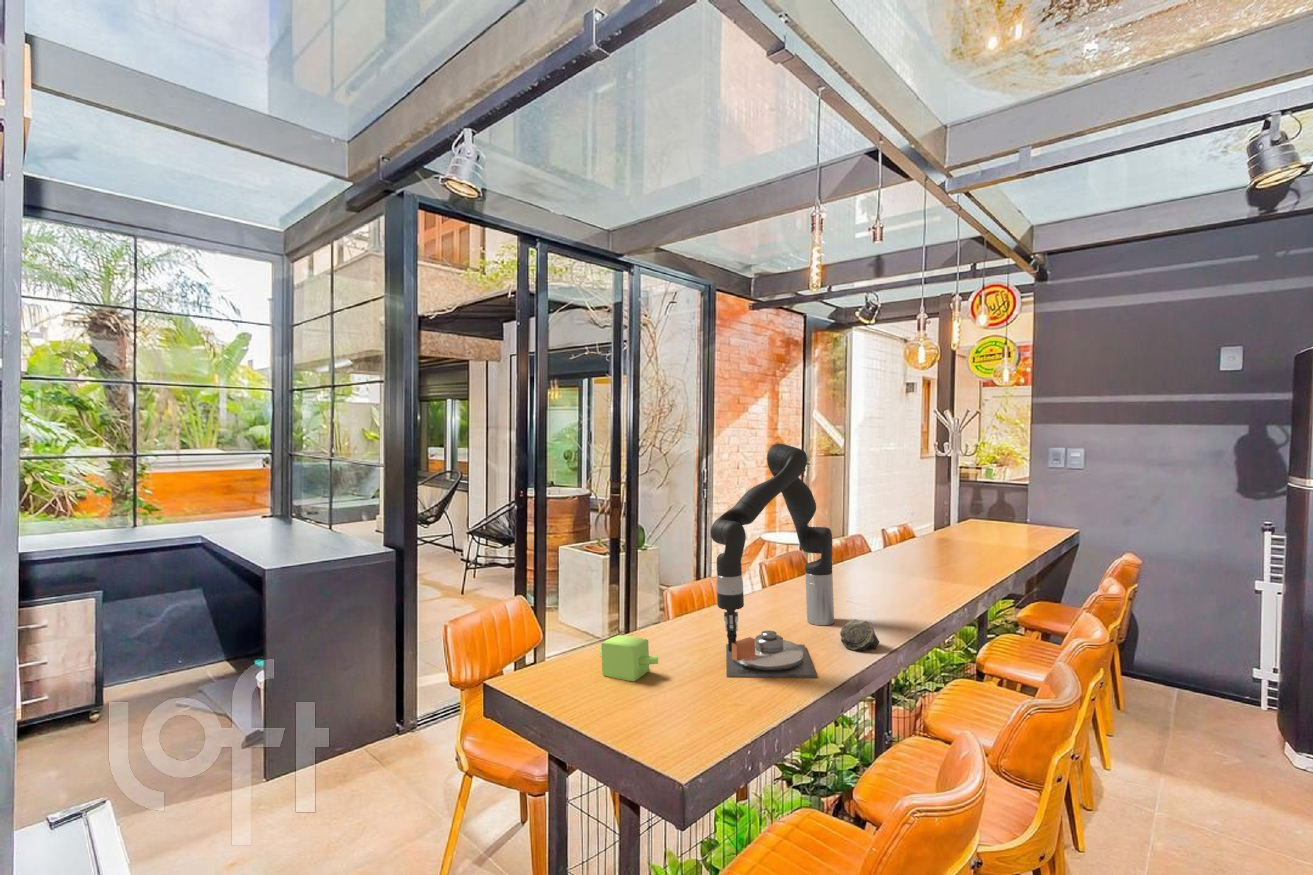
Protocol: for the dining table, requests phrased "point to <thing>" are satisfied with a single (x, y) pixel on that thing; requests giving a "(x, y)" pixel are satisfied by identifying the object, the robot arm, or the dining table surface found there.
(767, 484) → the robot arm
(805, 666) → the turntable base
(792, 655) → the turntable
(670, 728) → the dining table surface
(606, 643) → the gearbox
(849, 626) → the fossil
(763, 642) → the cover
